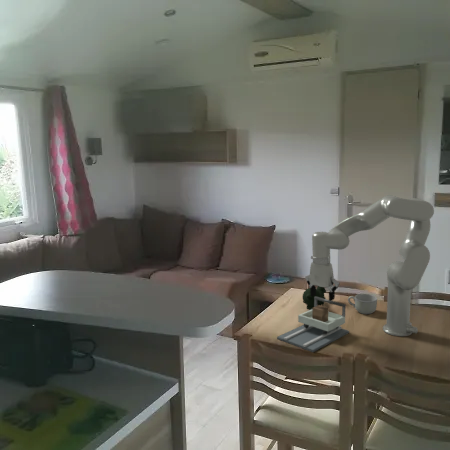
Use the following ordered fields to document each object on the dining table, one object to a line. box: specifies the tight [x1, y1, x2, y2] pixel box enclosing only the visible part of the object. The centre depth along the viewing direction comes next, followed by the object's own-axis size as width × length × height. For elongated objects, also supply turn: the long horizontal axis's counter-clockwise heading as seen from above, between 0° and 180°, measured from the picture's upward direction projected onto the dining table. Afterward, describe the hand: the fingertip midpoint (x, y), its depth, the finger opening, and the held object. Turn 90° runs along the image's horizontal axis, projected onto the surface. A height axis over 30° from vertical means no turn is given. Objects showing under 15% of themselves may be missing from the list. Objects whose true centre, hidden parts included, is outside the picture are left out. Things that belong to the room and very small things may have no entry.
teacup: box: [347, 293, 378, 315], centre depth 237 cm, size 14×11×8 cm
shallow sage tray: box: [297, 296, 347, 334], centre depth 212 cm, size 16×13×11 cm
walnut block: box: [312, 305, 329, 322], centre depth 212 cm, size 5×5×6 cm
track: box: [276, 324, 350, 353], centre depth 210 cm, size 19×27×2 cm
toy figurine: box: [302, 286, 327, 311], centre depth 245 cm, size 9×19×25 cm
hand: (322, 297), depth 210 cm, fingers open, 9 cm apart
